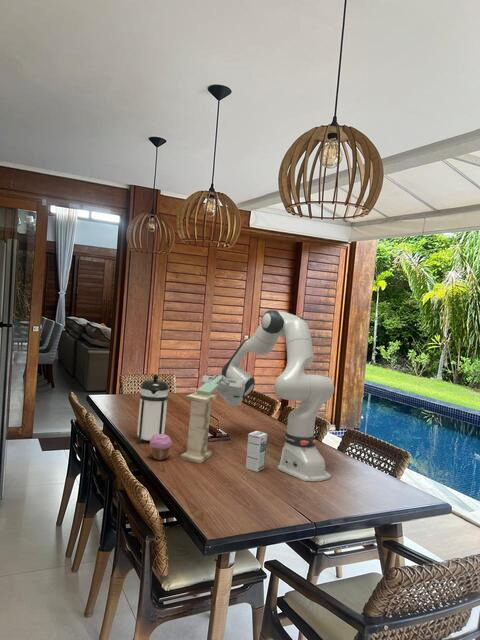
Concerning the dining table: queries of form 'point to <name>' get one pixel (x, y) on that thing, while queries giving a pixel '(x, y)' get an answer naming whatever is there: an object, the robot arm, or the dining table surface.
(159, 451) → the cupcake
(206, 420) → the stand
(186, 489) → the dining table surface
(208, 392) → the spatula
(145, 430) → the coffee press
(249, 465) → the syrup box
